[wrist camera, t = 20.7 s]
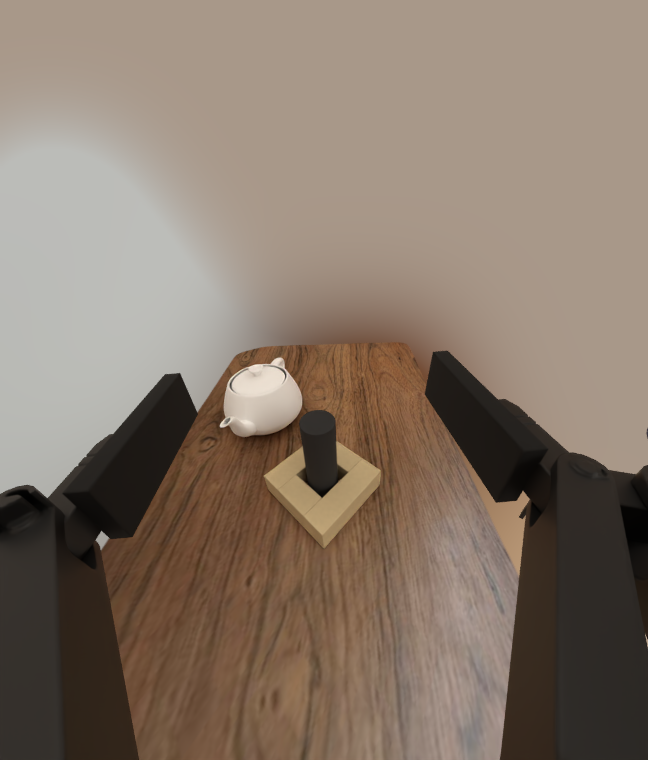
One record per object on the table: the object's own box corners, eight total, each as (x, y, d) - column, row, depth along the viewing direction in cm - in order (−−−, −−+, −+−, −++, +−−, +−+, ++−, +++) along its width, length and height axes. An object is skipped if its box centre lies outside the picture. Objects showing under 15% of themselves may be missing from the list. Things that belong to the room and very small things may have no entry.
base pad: (379, 484, 35) (381, 470, 33) (324, 549, 28) (322, 535, 27) (323, 444, 41) (322, 431, 40) (267, 489, 35) (263, 475, 33)
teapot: (256, 383, 57) (246, 339, 51) (315, 388, 55) (311, 341, 49) (196, 462, 40) (169, 409, 34) (280, 475, 37) (266, 419, 31)
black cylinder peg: (341, 479, 36) (340, 413, 29) (332, 505, 33) (328, 438, 26) (315, 471, 37) (307, 407, 30) (304, 495, 34) (293, 430, 27)
